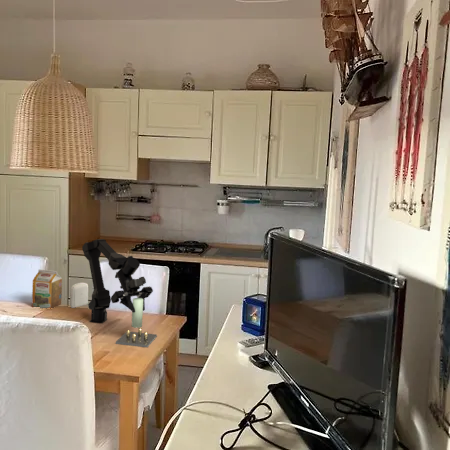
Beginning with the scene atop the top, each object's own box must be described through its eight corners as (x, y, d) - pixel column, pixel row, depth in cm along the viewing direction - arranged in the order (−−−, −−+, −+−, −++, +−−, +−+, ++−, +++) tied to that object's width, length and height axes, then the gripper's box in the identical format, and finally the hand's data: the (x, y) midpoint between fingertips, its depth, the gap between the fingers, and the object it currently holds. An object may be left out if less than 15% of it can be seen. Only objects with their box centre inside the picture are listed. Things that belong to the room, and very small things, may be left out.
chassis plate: (115, 343, 202) (115, 334, 202) (127, 333, 216) (127, 324, 216) (147, 347, 200) (147, 338, 200) (156, 336, 214) (157, 328, 214)
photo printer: (74, 308, 249) (74, 285, 248) (68, 306, 251) (69, 283, 250) (89, 304, 258) (89, 282, 256) (83, 302, 260) (84, 280, 259)
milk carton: (61, 304, 255) (62, 269, 253) (50, 309, 245) (51, 273, 243) (43, 302, 257) (44, 267, 255) (32, 307, 246) (32, 271, 244)
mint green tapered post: (132, 328, 205) (133, 300, 203) (131, 324, 209) (132, 298, 208) (142, 327, 206) (143, 300, 205) (141, 324, 210) (142, 297, 209)
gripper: (115, 273, 201) (128, 304, 195) (151, 268, 214) (165, 298, 208) (105, 287, 208) (117, 318, 201) (140, 282, 221) (153, 311, 214)
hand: (139, 311), depth 206 cm, fingers closed on mint green tapered post, 4 cm apart
